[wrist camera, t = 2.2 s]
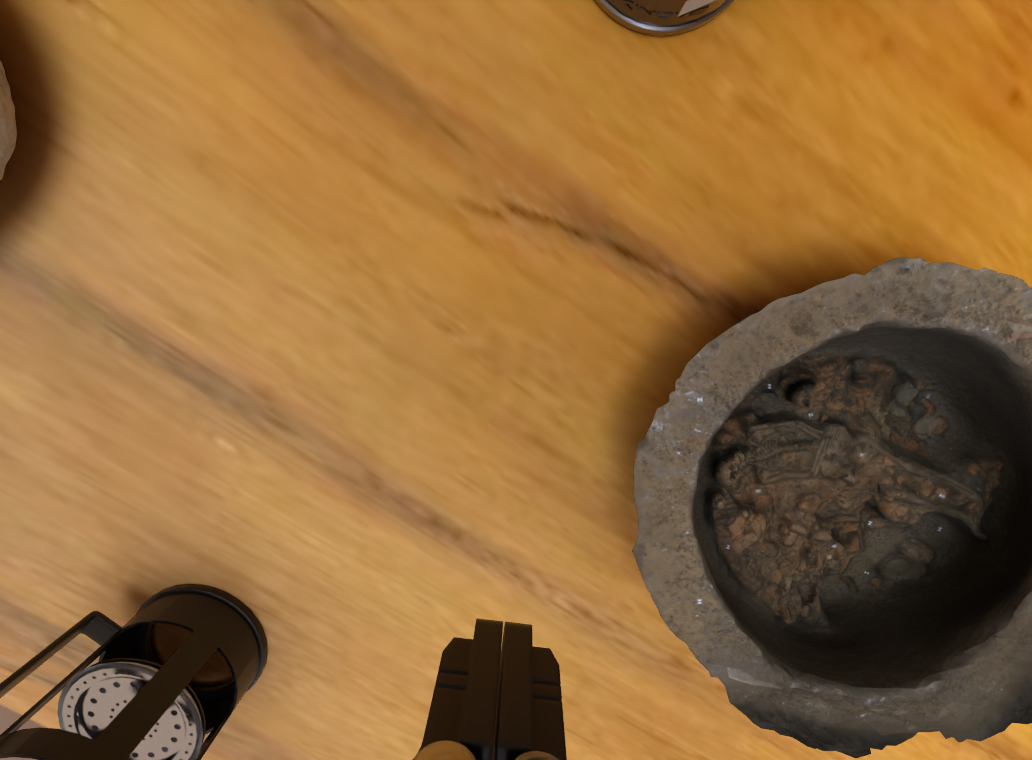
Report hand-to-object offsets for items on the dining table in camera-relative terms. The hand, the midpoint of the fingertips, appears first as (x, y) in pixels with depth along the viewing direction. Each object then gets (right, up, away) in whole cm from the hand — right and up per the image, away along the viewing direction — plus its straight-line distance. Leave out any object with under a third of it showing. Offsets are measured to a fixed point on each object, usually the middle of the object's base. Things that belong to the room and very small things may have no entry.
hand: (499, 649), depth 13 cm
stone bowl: (+19, +2, +18) cm, 26 cm away
